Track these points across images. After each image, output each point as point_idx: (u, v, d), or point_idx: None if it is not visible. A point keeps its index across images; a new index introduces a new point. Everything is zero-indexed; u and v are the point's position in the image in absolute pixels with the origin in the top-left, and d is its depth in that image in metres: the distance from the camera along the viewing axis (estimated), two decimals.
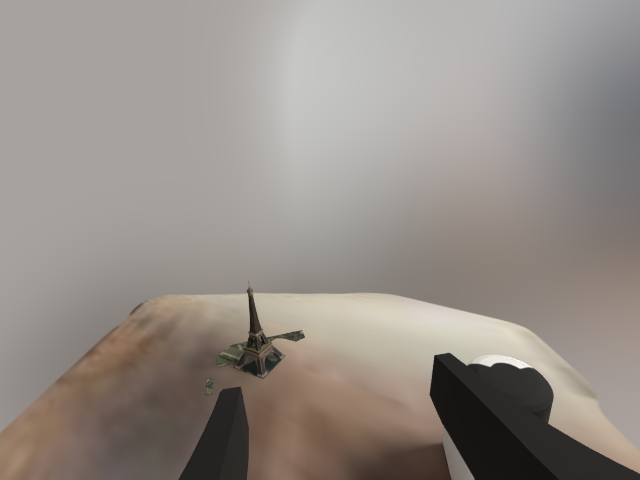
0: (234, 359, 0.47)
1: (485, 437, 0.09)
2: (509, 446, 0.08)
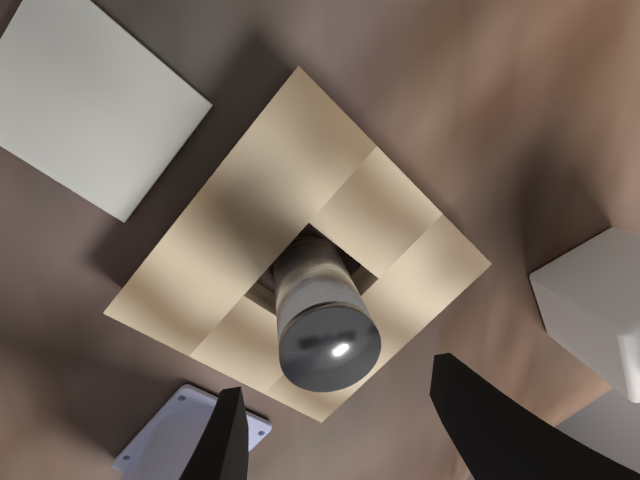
0: None
1: (484, 437, 0.09)
2: (509, 446, 0.08)
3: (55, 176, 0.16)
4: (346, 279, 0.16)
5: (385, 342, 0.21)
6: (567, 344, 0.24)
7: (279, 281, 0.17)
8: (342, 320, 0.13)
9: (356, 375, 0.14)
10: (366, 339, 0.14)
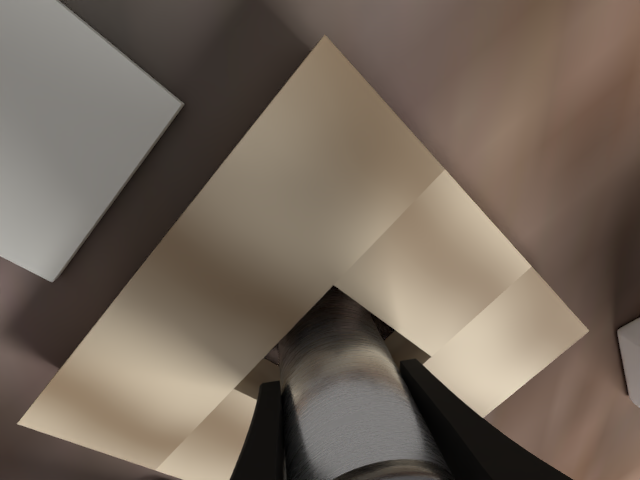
0: None
1: (442, 445, 0.09)
2: (462, 456, 0.08)
3: None
4: (397, 383, 0.10)
5: None
6: None
7: (288, 375, 0.11)
8: None
9: None
10: None
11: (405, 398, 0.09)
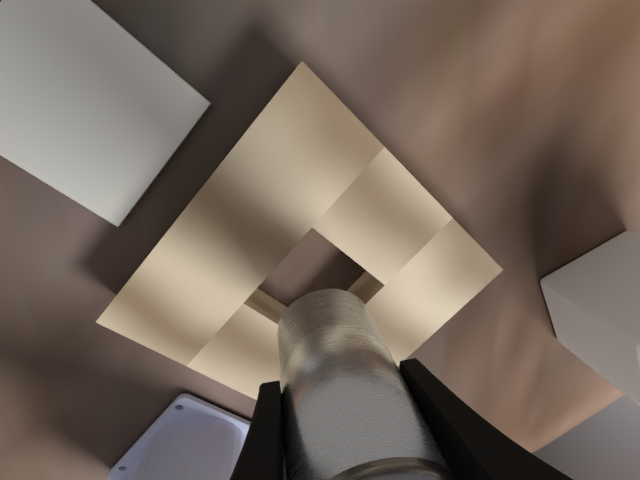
0: None
1: (442, 445, 0.09)
2: (462, 456, 0.08)
3: (44, 178, 0.15)
4: (398, 382, 0.10)
5: (391, 350, 0.20)
6: (579, 351, 0.23)
7: (289, 372, 0.11)
8: None
9: None
10: None
11: (406, 397, 0.09)
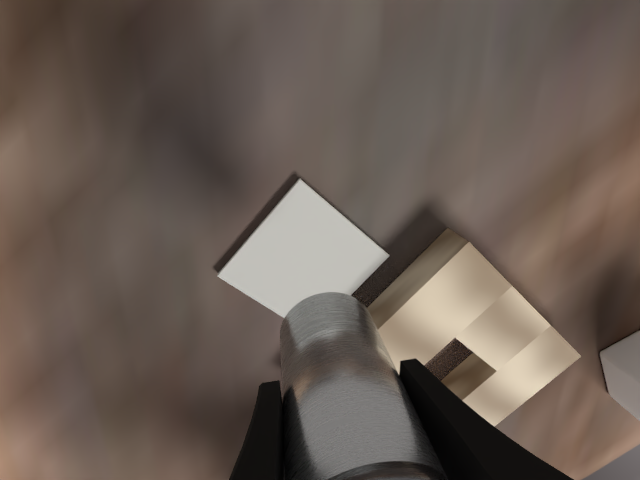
0: None
1: (442, 445, 0.09)
2: (462, 456, 0.08)
3: (272, 308, 0.22)
4: (390, 384, 0.10)
5: (493, 414, 0.27)
6: (629, 408, 0.30)
7: (286, 380, 0.11)
8: None
9: None
10: None
11: (398, 398, 0.10)
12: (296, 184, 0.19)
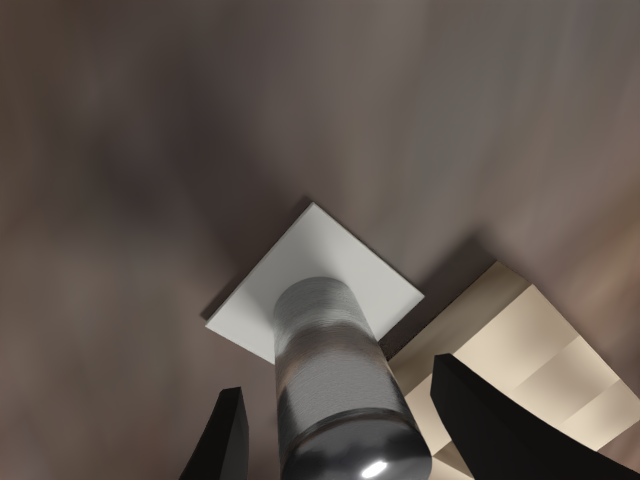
0: None
1: (484, 437, 0.09)
2: (509, 446, 0.08)
3: None
4: (370, 351, 0.11)
5: None
6: None
7: (278, 352, 0.13)
8: (372, 440, 0.08)
9: None
10: (410, 458, 0.09)
11: (376, 362, 0.11)
12: (309, 210, 0.14)
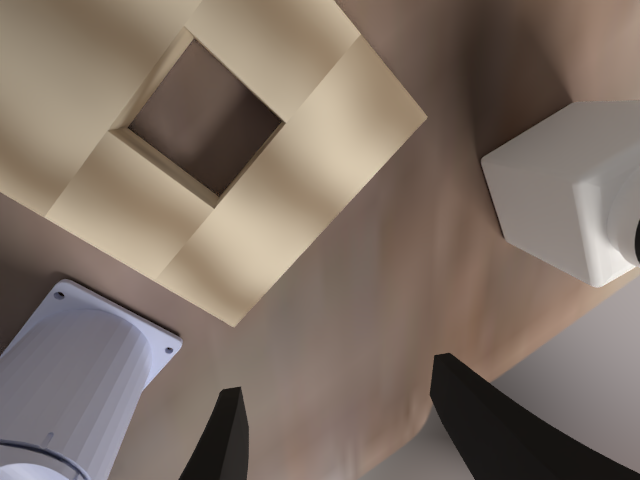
0: None
1: (484, 437, 0.09)
2: (509, 446, 0.08)
3: None
4: None
5: (303, 218, 0.17)
6: (524, 241, 0.21)
7: None
8: None
9: None
10: None
11: None
12: None
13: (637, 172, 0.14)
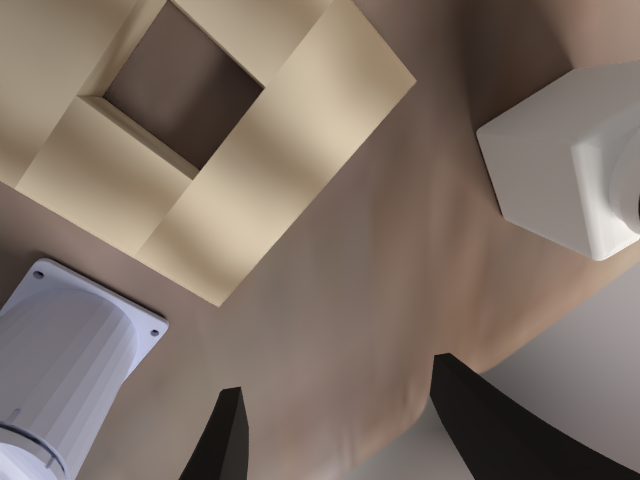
0: None
1: (484, 437, 0.09)
2: (509, 446, 0.08)
3: None
4: None
5: (287, 190, 0.17)
6: (523, 217, 0.20)
7: None
8: None
9: None
10: None
11: None
12: None
13: None
